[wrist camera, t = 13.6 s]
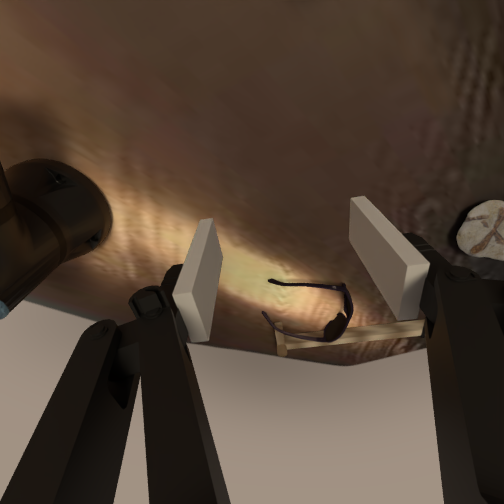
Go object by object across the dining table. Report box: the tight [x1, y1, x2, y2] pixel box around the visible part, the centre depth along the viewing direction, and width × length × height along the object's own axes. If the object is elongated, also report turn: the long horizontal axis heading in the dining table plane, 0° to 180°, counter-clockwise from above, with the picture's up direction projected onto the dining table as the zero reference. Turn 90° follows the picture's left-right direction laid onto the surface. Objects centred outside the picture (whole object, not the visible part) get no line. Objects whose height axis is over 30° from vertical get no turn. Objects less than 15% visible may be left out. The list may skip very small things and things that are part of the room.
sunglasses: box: [262, 279, 353, 343], centre depth 51 cm, size 14×16×5 cm
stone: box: [457, 200, 504, 261], centre depth 42 cm, size 12×9×3 cm
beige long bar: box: [274, 320, 425, 357], centre depth 54 cm, size 32×6×4 cm, turn 101°
